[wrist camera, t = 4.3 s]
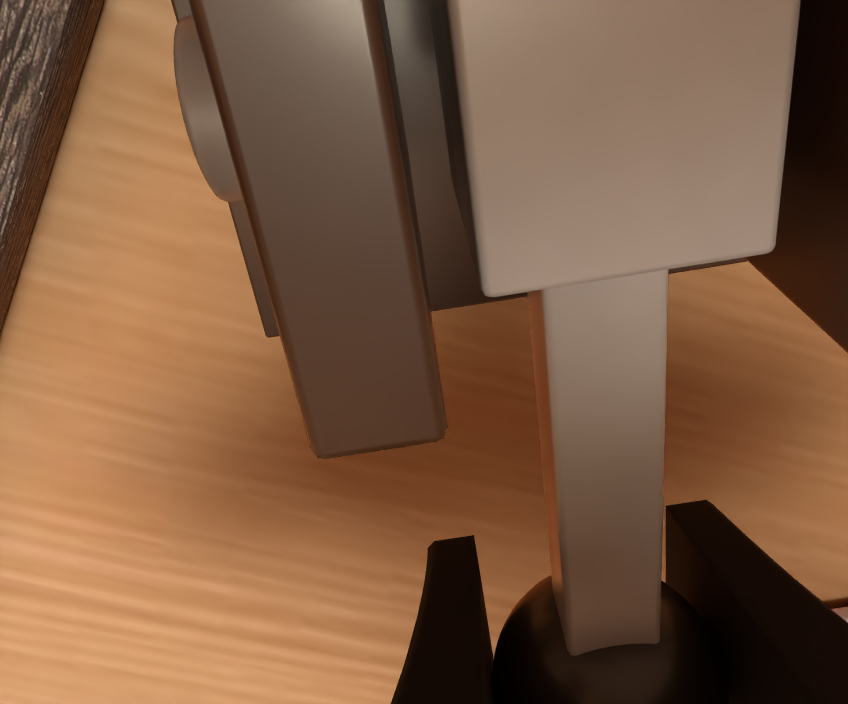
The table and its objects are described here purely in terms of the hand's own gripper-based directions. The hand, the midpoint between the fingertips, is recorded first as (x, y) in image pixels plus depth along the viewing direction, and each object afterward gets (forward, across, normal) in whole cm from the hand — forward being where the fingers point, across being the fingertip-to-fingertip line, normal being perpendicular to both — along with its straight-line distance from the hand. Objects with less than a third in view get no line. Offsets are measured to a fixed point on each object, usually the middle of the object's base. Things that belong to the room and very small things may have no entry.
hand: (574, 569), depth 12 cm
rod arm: (-1, 0, -4) cm, 4 cm away
